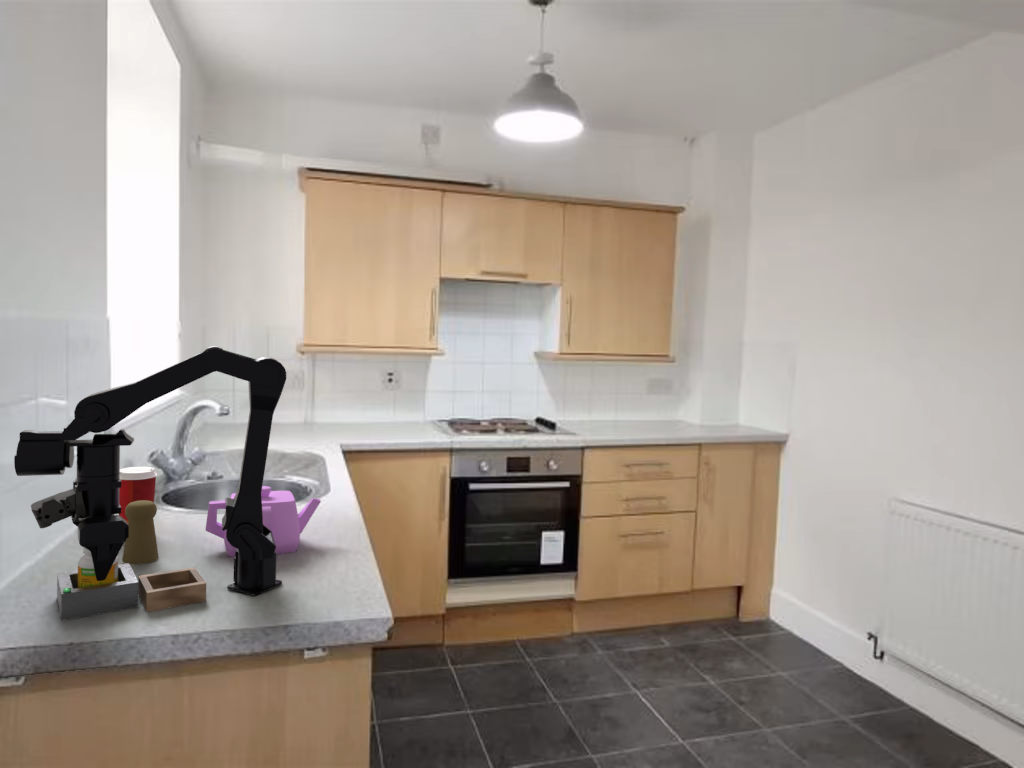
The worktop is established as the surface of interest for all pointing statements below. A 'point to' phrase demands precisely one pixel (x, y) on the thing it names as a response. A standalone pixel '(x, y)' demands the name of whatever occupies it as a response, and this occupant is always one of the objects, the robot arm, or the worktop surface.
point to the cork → (140, 533)
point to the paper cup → (136, 486)
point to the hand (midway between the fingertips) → (97, 571)
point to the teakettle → (270, 519)
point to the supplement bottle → (88, 574)
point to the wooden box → (171, 589)
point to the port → (96, 594)
